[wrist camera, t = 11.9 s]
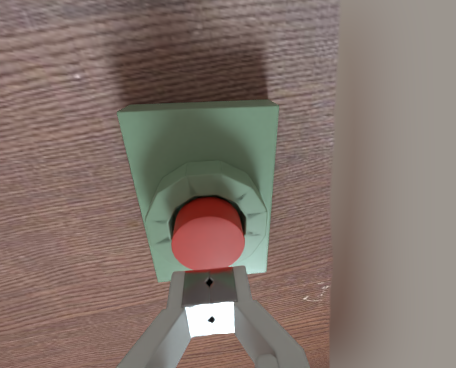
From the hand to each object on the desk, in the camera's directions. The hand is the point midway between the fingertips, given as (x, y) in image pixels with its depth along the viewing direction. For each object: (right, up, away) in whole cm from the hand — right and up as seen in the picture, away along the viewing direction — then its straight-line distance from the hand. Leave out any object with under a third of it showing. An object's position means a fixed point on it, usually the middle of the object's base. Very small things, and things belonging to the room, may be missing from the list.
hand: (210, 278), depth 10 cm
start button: (0, +2, +3) cm, 4 cm away
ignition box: (-1, +3, +6) cm, 7 cm away
